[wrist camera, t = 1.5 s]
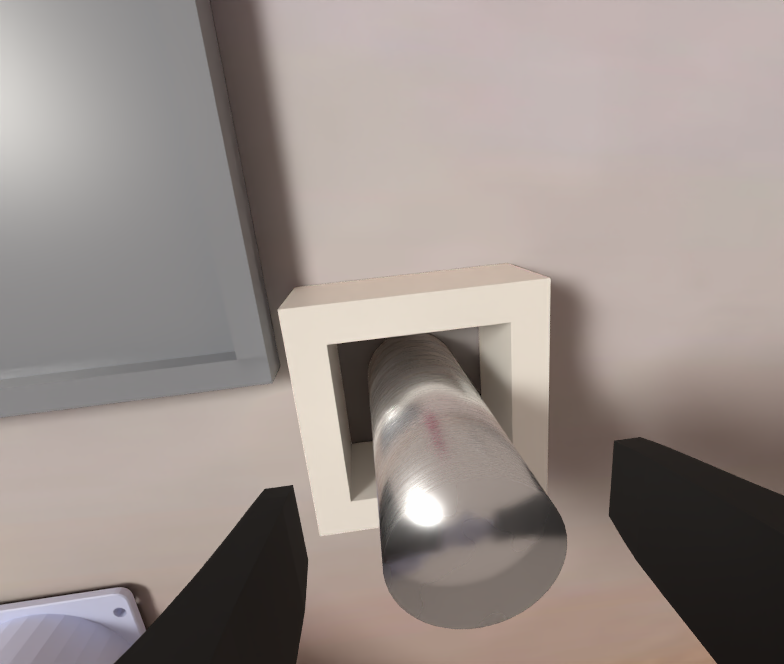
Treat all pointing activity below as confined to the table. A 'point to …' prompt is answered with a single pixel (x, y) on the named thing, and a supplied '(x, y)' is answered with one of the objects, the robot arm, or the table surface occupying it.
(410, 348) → the steel pin
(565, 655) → the table surface
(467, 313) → the white hollow block
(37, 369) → the tray
